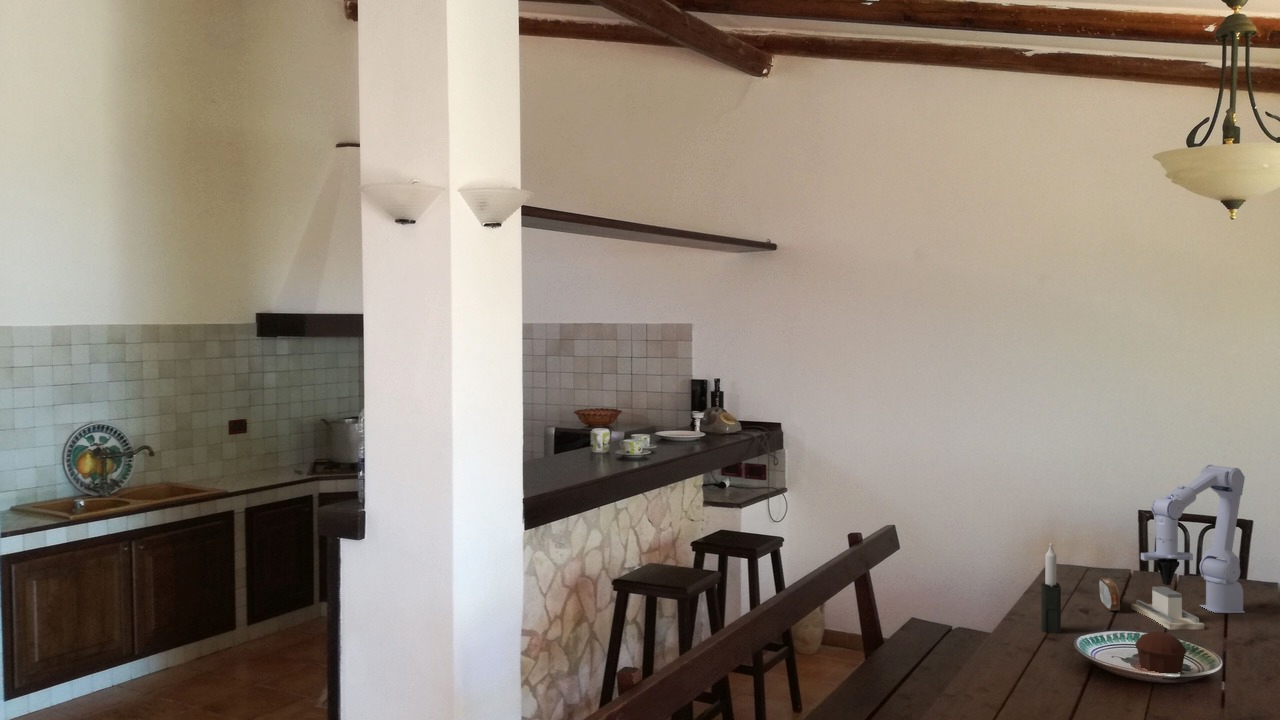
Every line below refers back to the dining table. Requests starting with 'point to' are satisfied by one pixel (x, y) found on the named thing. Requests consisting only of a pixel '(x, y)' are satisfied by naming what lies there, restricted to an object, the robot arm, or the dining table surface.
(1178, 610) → the block
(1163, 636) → the muffin
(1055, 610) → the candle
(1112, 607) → the tin
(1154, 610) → the rail board
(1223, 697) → the dining table surface
